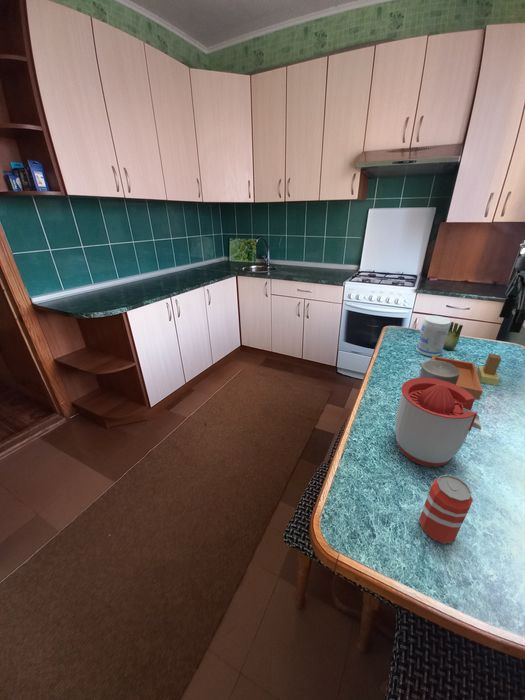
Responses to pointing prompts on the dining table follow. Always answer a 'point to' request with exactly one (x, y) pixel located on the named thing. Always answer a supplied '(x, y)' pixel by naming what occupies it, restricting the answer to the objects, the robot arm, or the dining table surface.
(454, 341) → the fennel bulb
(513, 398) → the dining table surface
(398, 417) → the citrus juicer
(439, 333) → the supplement tub
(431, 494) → the beverage can
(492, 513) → the dining table surface
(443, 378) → the pillar candle
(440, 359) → the orange brown tray
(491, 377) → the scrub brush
